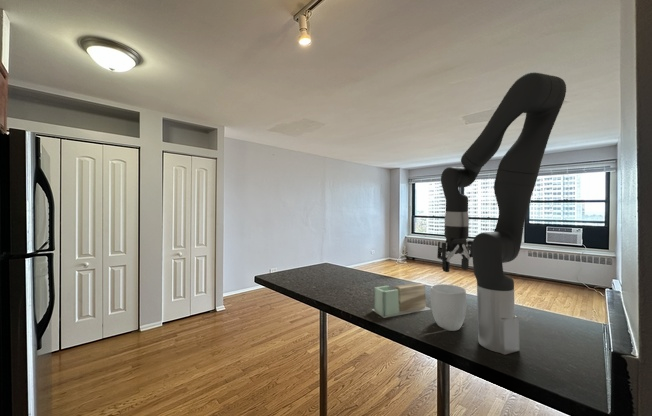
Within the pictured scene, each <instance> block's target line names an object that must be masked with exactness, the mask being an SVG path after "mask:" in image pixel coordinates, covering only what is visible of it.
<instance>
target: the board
mask: <svg viewBox="0 0 652 416" xmlns="http://www.w3.org/2000/svg"><path fill="white" fill-rule="evenodd" d="M430 310H431V307H428V306H426V307H423V308H417V309H412V310H406V311H399V314H394V315H388V316H383V315H381V314H380V313H378V312H377V311H375V308H372V309H371V311H373V312H374V313H376V314H377V315H379V316H381V317H382V318H384V319H385V318H391V317H397V316H401V315H408V314H412V313H418V312H419V313H420V312H423V311H430Z"/></svg>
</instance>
